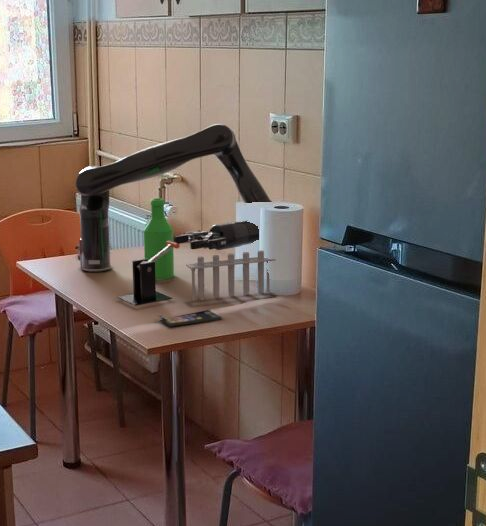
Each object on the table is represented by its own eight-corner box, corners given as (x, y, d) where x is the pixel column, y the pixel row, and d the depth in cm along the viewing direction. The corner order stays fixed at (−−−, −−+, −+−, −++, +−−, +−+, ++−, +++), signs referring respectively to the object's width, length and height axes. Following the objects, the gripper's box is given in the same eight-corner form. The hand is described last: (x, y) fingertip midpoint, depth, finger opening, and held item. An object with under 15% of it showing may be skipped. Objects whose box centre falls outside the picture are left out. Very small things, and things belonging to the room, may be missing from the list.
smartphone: (221, 319, 243) (221, 315, 242) (169, 328, 237) (169, 323, 237) (206, 311, 250) (206, 307, 250) (156, 320, 244) (156, 315, 244)
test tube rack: (191, 306, 255) (190, 260, 252) (186, 302, 259) (185, 256, 256) (276, 297, 261) (276, 251, 257) (269, 293, 265) (269, 248, 262)
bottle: (171, 283, 279) (169, 201, 273) (143, 283, 281) (140, 201, 275) (175, 276, 288) (173, 196, 281) (147, 275, 289) (145, 196, 283)
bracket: (153, 294, 268) (152, 254, 266) (172, 302, 260) (171, 261, 257) (117, 301, 263) (116, 261, 260) (135, 309, 254) (134, 268, 251)
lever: (171, 244, 265) (168, 238, 264) (181, 248, 261) (177, 241, 260) (137, 272, 261) (133, 265, 260) (146, 275, 257) (142, 268, 256)
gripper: (214, 219, 277) (168, 226, 269) (243, 226, 264) (196, 234, 257) (215, 243, 278) (169, 251, 271) (243, 252, 266) (197, 260, 259)
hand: (182, 243), depth 264 cm, fingers open, 8 cm apart
